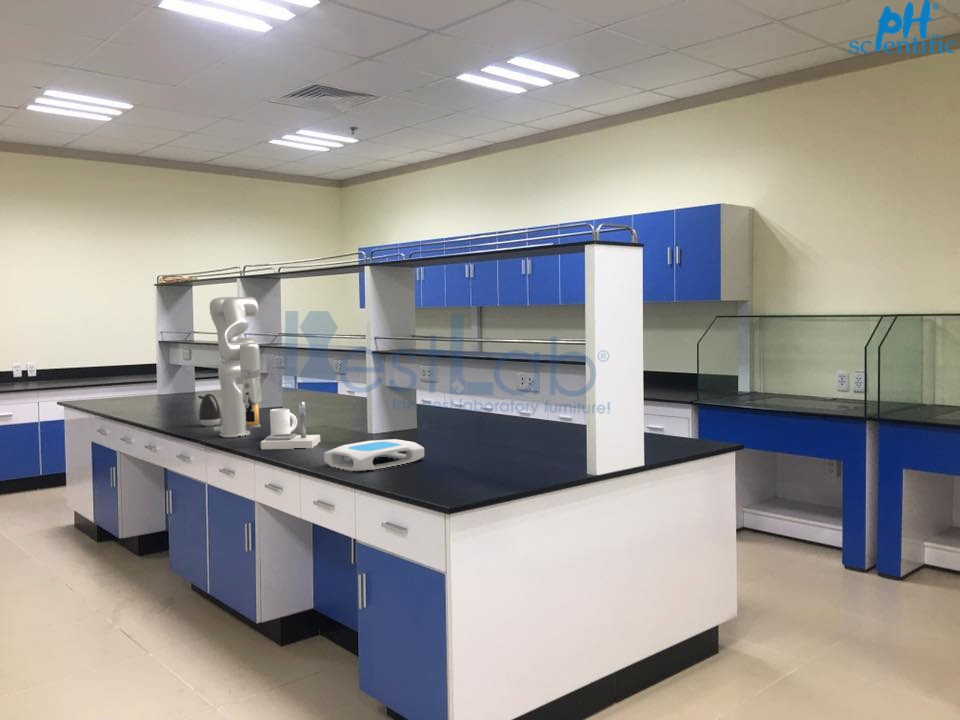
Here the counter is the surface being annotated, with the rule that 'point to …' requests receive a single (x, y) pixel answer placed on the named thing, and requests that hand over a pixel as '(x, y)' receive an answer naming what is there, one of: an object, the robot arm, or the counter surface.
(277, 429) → the mug
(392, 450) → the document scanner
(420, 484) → the counter surface
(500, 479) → the counter surface
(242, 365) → the robot arm
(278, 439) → the socket block
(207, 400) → the pump dispenser
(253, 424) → the plug
